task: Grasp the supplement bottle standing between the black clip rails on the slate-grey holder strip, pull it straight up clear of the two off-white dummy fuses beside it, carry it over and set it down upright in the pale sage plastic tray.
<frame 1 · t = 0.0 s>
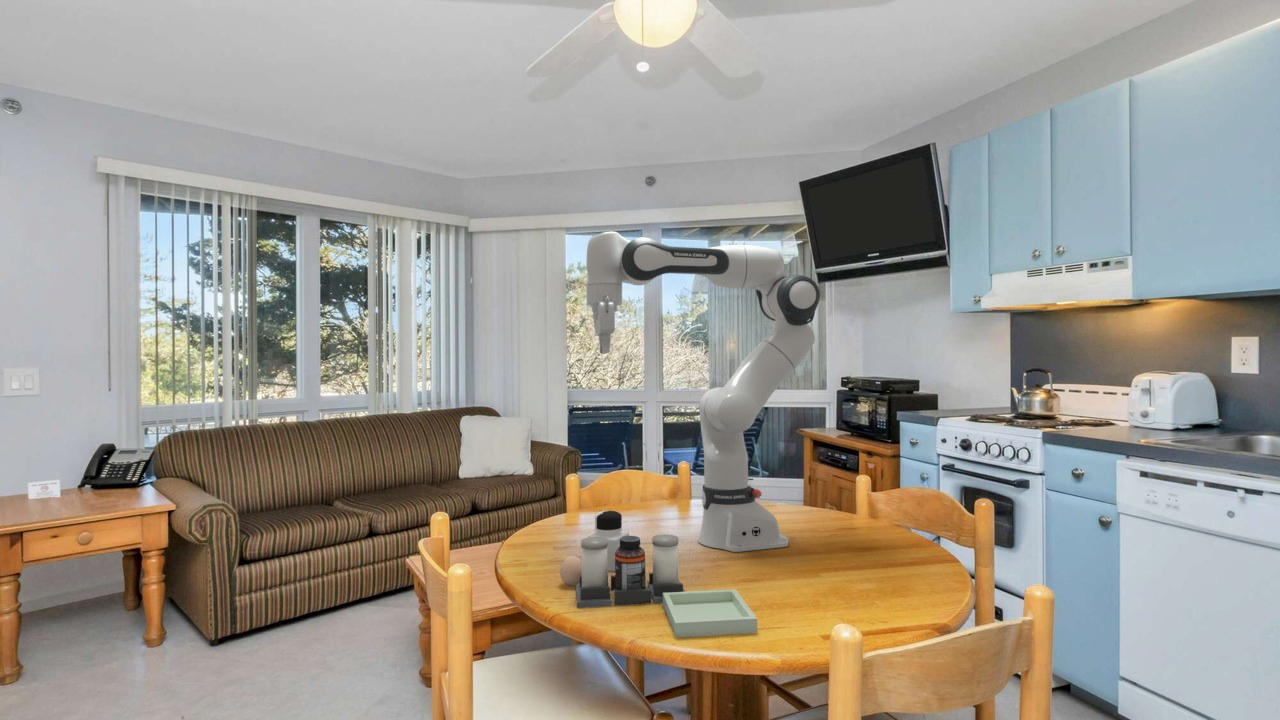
hand: (604, 353, 159), 48 cm above the table, fingers open, 8 cm apart
supplement bottle: (630, 596, 126), resting in fuse holder
fuse holder: (630, 595, 126), on the table
egg: (572, 585, 132), on the table
medicine bottle: (608, 566, 144), on the table
tray: (707, 618, 114), on the table
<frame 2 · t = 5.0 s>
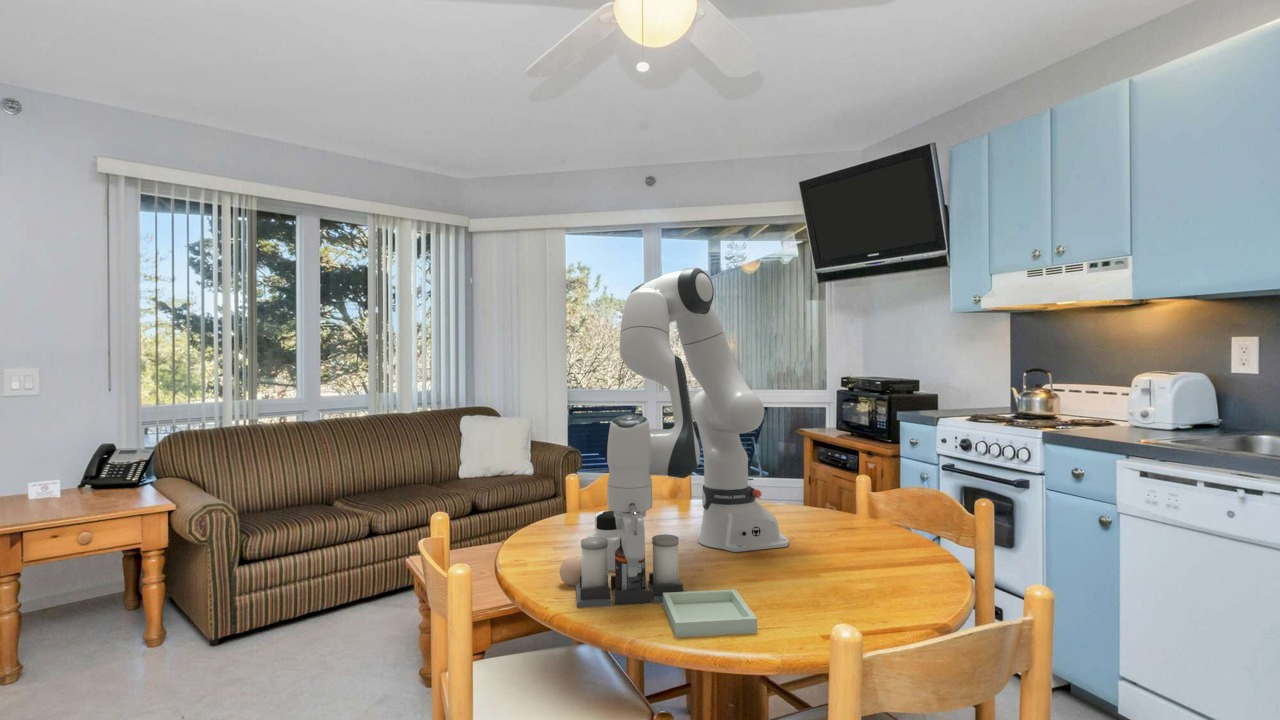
hand: (630, 569, 126), 5 cm above the table, fingers closed on supplement bottle, 6 cm apart
supplement bottle: (630, 596, 126), resting in fuse holder, touching gripper
everything else where it was.
when the fingers open (7 cm above the table, at t = 13.2 s): supplement bottle stays where it is, resting on tray.
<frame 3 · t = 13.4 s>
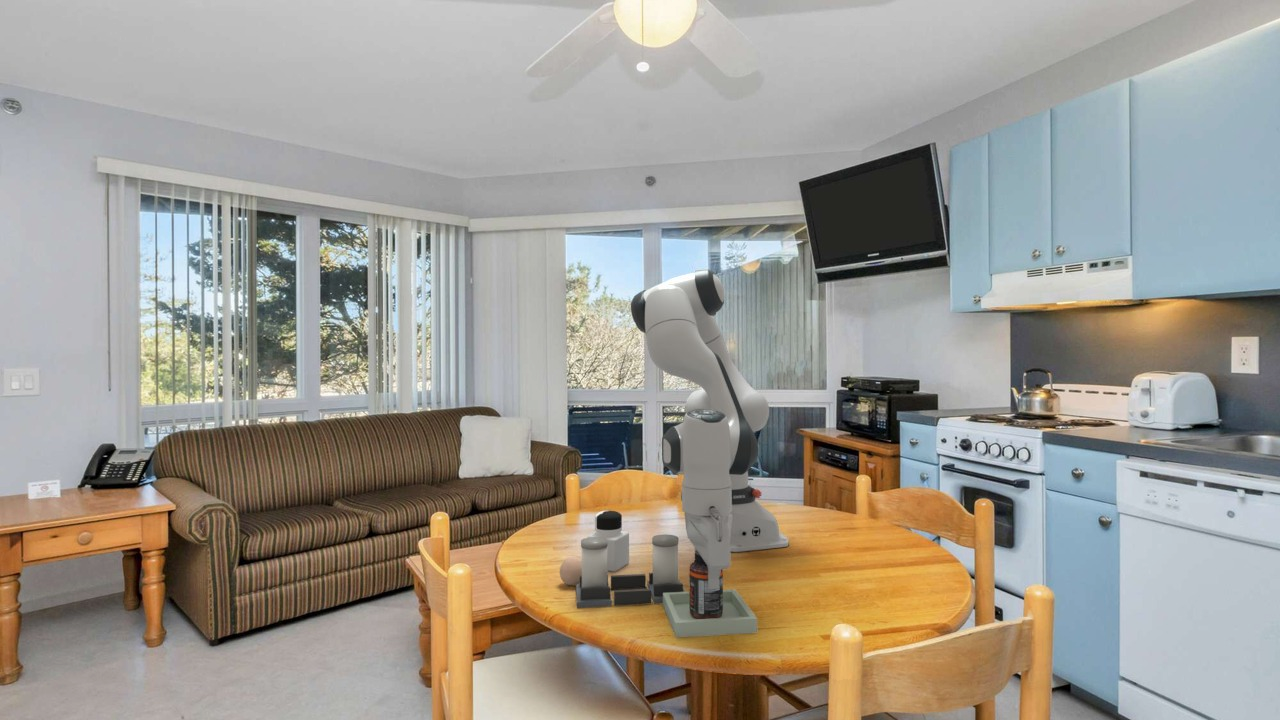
hand: (707, 578, 114), 7 cm above the table, fingers open, 7 cm apart
supplement bottle: (706, 615, 114), resting on tray
everything else where it was.
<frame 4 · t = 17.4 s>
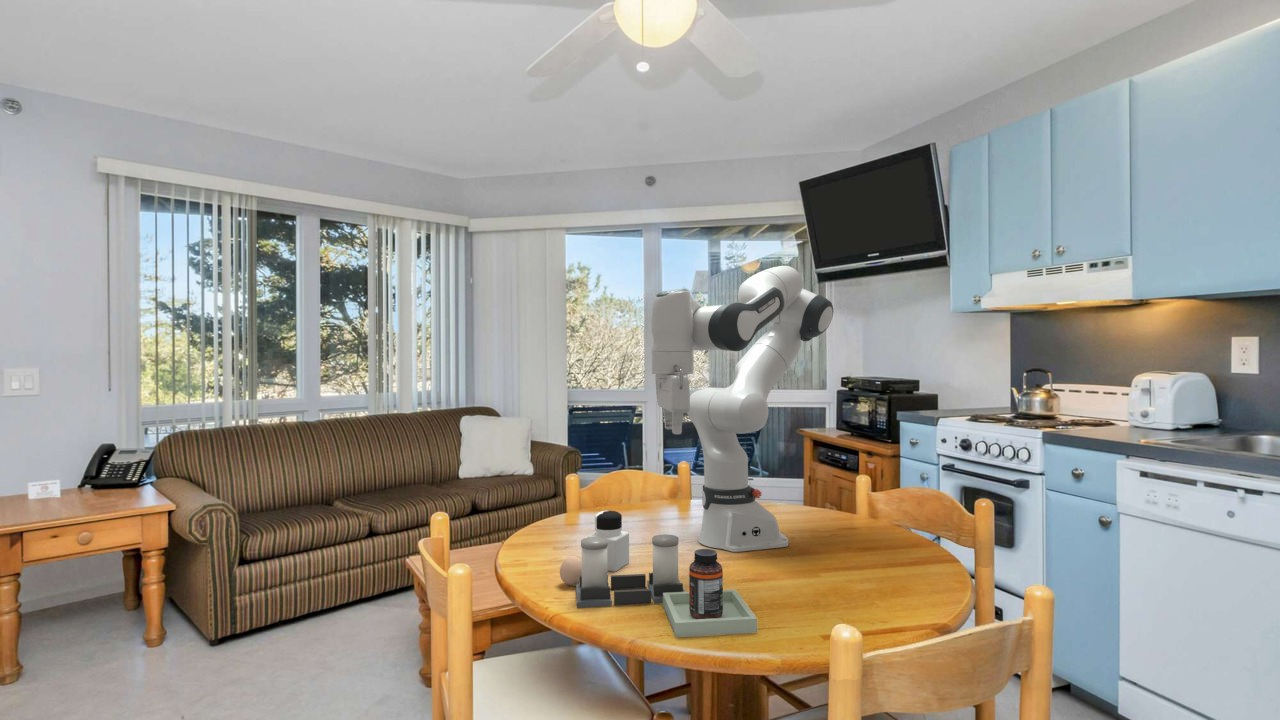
hand: (672, 431, 135), 31 cm above the table, fingers open, 8 cm apart
nothing on the table moved.
at the end: supplement bottle inside the target area on the tray (0.2 cm from its centre), point 0.4 cm above the tray's base; supplement bottle tilted 0°; the gripper is holding nothing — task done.
